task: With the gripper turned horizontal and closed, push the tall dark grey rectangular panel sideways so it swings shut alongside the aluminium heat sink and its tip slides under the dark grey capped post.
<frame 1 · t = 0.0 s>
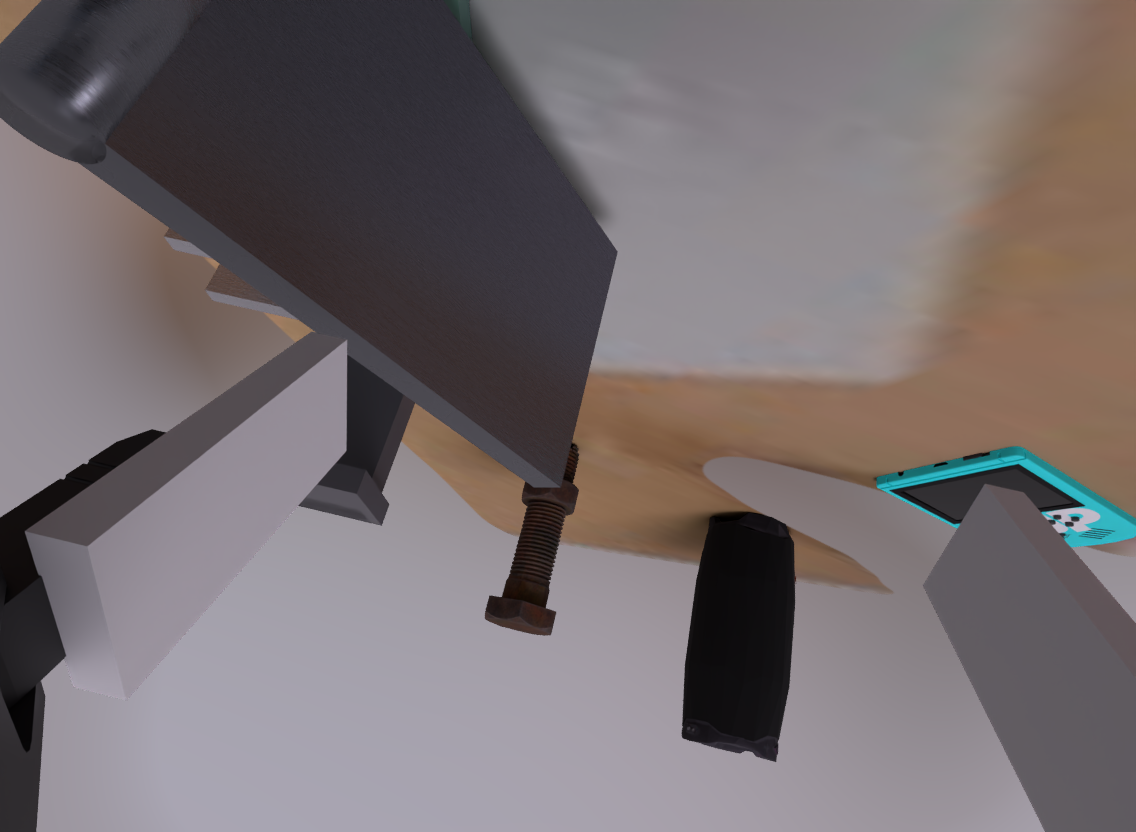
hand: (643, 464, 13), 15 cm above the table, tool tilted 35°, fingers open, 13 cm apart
handheld game console: (1007, 494, 45), on the table
bolt: (562, 443, 54), on the table
heat sink: (258, 78, 25), resting on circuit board
dark grey capped post: (420, 262, 33), resting on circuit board
dark grey rectangular panel: (433, 203, 19), point 7 cm above the table, hinge at 35.0°
portable speaker: (750, 523, 61), on the table
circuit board: (330, 74, 25), on the table
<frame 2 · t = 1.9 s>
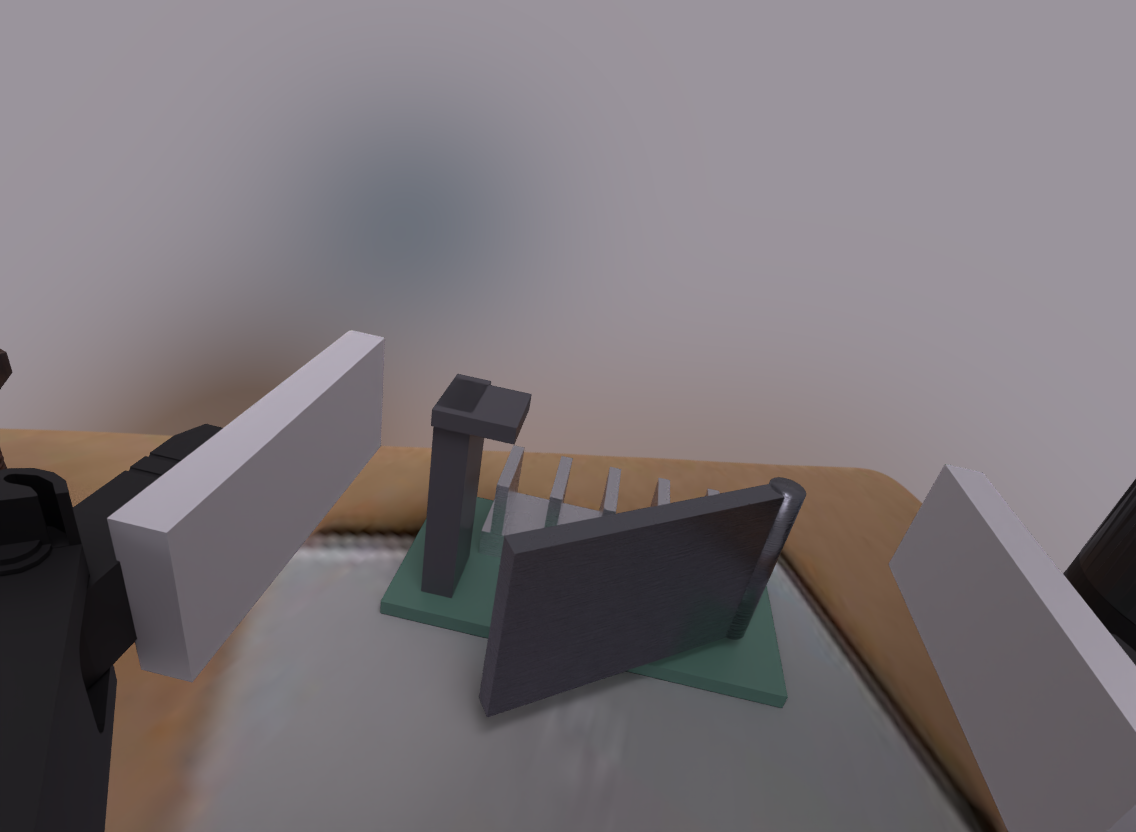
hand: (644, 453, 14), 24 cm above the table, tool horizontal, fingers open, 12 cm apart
bolt: (10, 602, 36), on the table
heat sink: (595, 555, 45), resting on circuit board
dark grey capped post: (446, 573, 41), resting on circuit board
dark grey rectangular panel: (648, 591, 34), point 8 cm above the table, hinge at 35.0°
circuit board: (589, 589, 44), on the table
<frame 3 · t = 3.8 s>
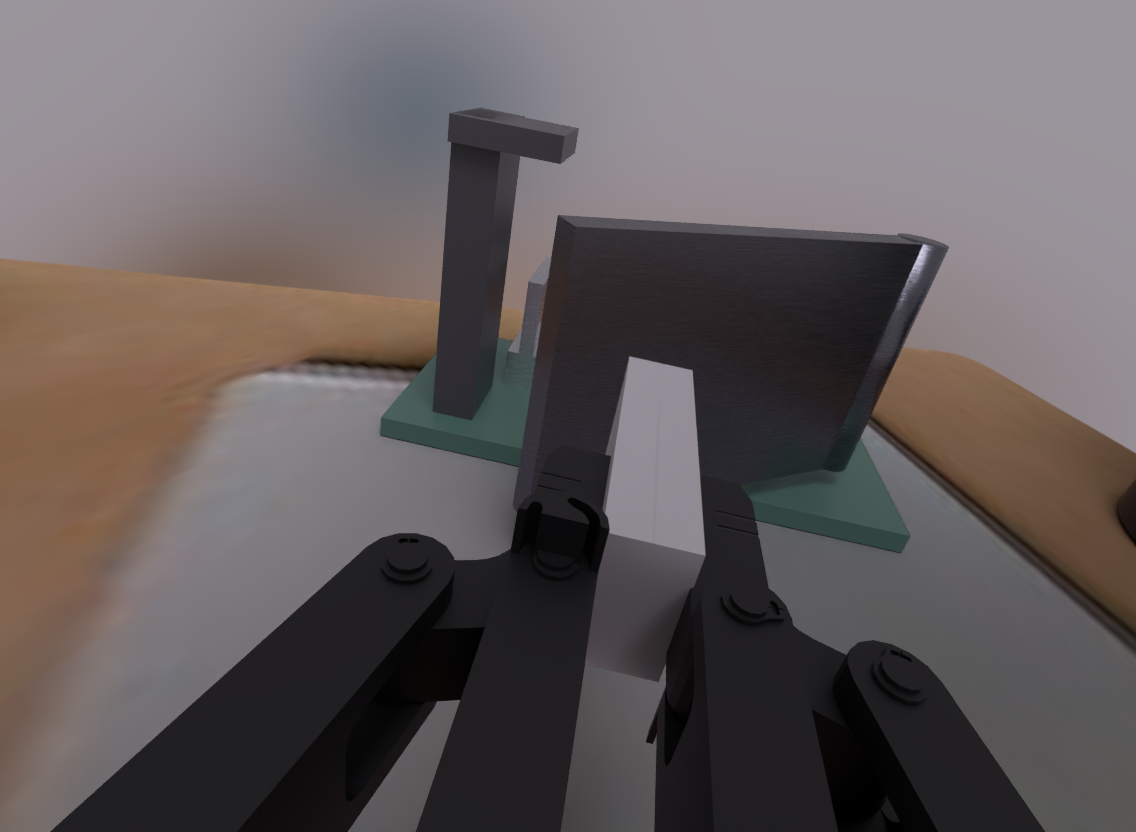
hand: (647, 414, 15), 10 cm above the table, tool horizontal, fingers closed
heat sink: (647, 394, 37), resting on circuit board
dark grey capped post: (463, 398, 33), resting on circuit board
dark grey rectangular panel: (739, 370, 25), point 7 cm above the table, hinge at 35.0°
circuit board: (641, 430, 35), on the table
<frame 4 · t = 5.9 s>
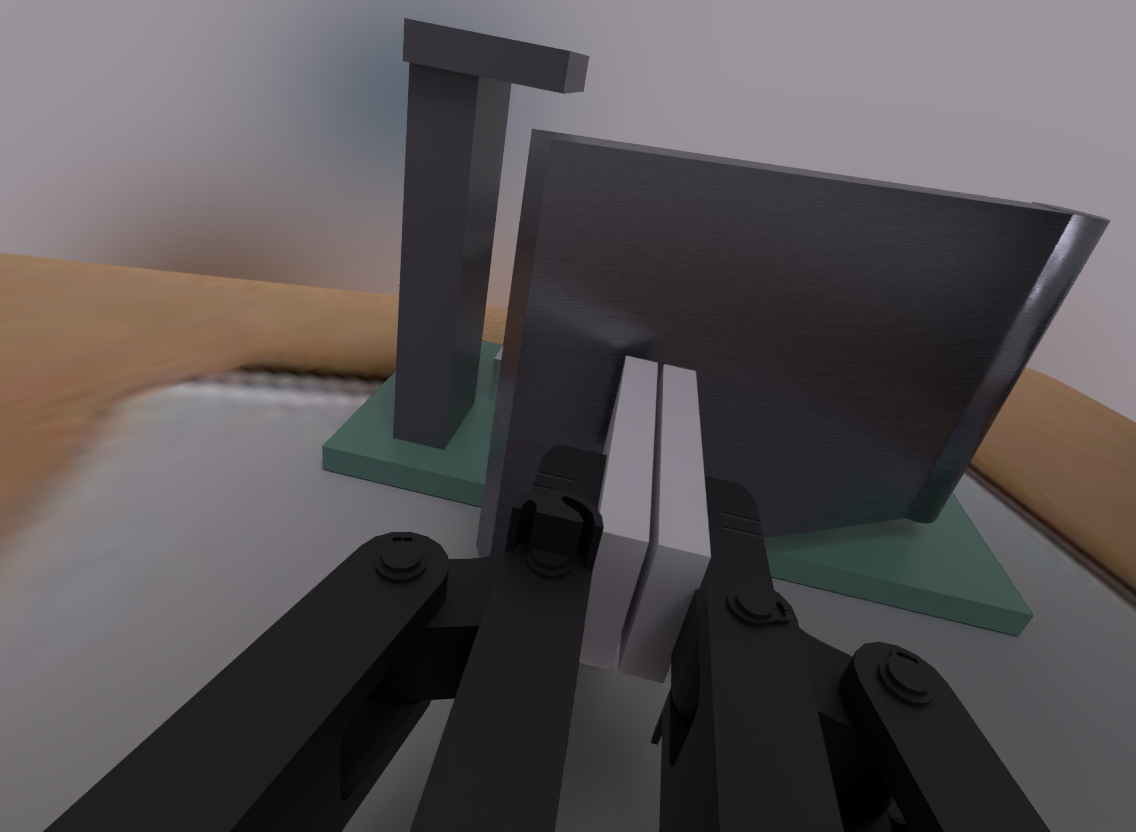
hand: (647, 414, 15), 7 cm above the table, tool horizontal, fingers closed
heat sink: (670, 414, 29), resting on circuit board
dark grey capped post: (436, 419, 25), resting on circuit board
dark grey rectangular panel: (798, 380, 18), point 8 cm above the table, hinge at 29.8°, touching gripper
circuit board: (663, 460, 28), on the table
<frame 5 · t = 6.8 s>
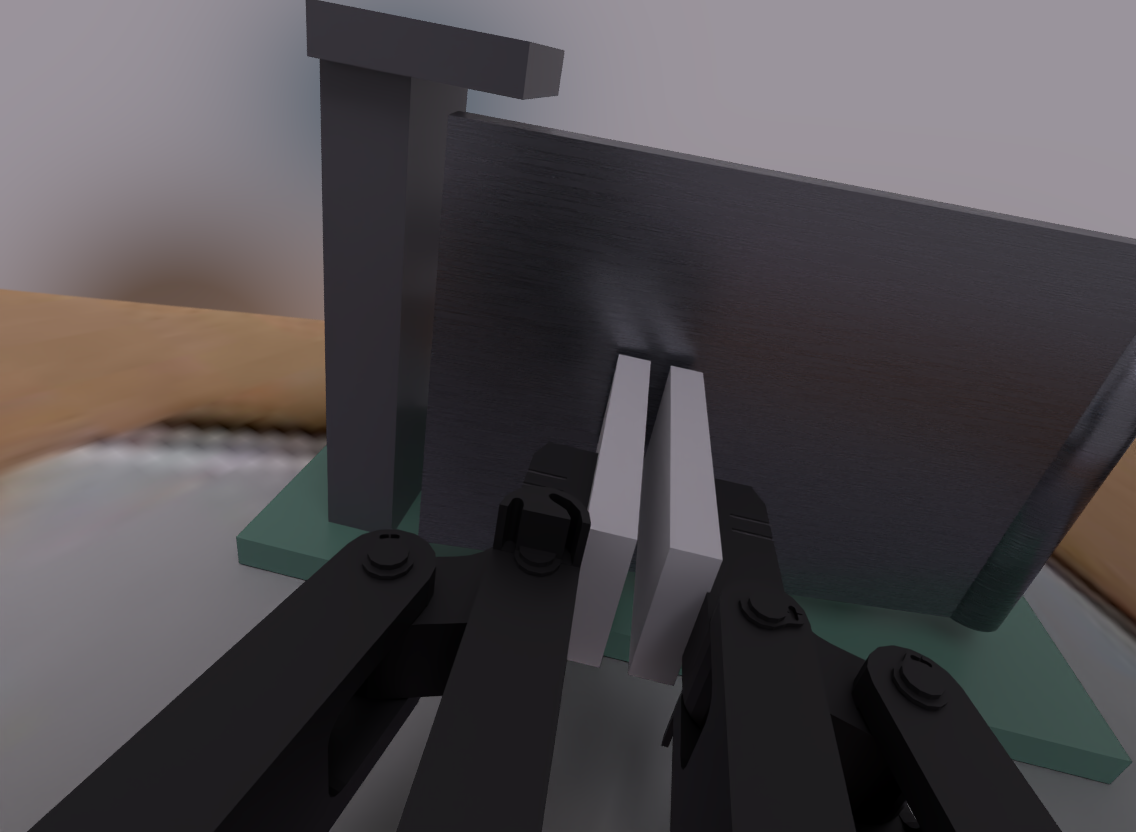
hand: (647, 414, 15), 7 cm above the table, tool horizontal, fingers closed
dark grey capped post: (386, 492, 21), resting on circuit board
dark grey rectangular panel: (778, 411, 16), point 8 cm above the table, hinge at 8.1°, touching gripper
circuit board: (662, 535, 23), on the table
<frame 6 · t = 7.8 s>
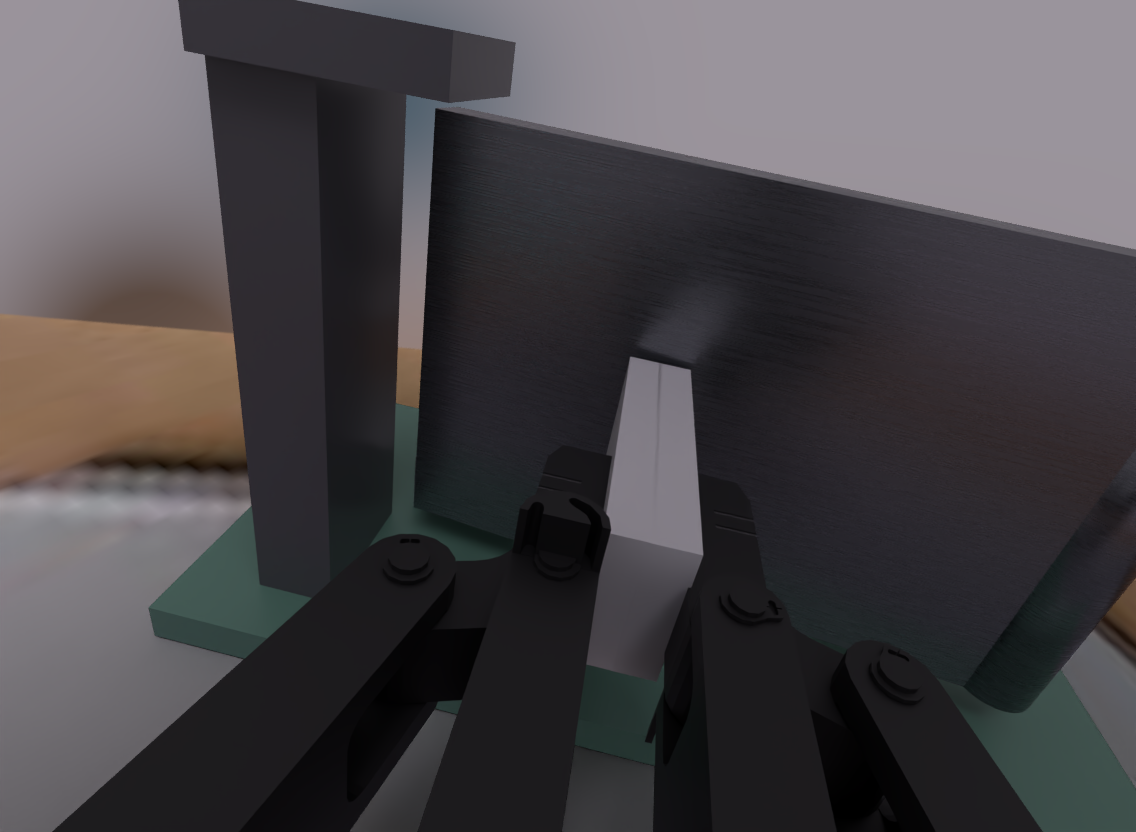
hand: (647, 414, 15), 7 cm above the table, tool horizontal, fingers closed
dark grey capped post: (331, 545, 19), resting on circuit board
dark grey rectangular panel: (761, 423, 16), point 8 cm above the table, hinge at -6.6°, touching gripper, heat sink
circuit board: (646, 587, 21), on the table
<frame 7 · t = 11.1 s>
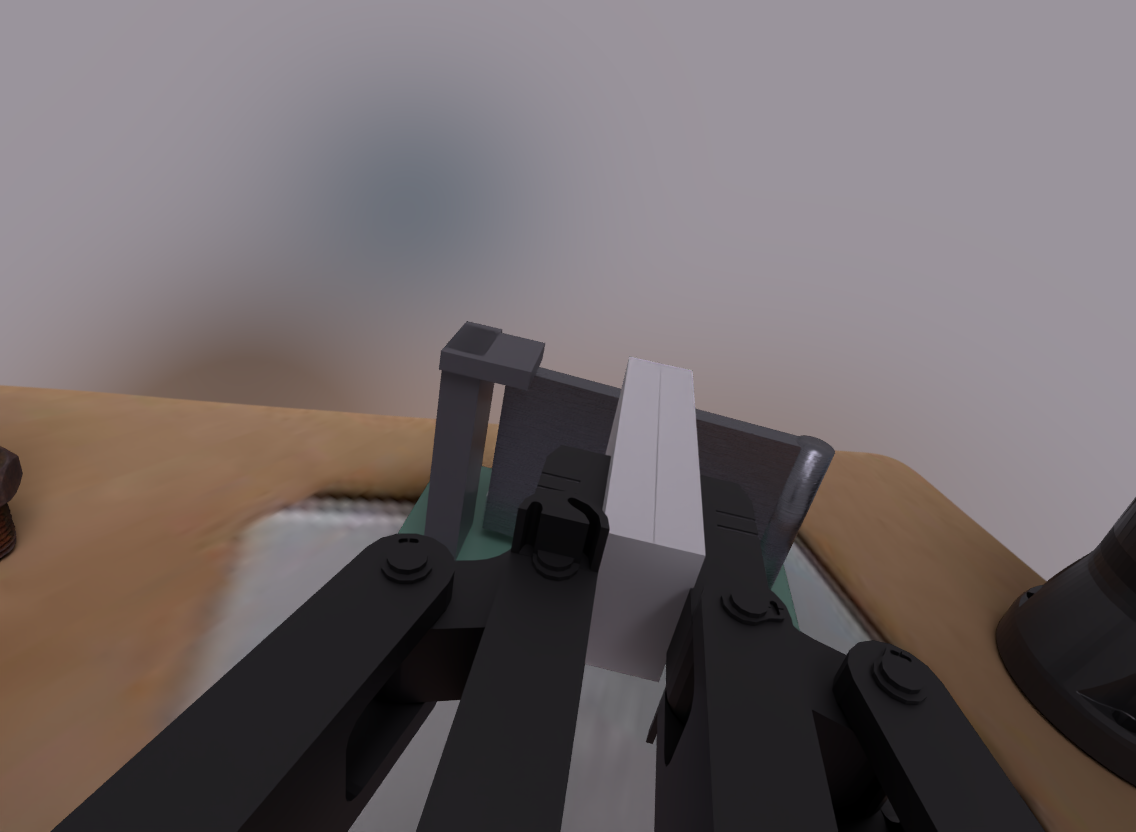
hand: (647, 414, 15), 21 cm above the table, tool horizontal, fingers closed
dark grey capped post: (448, 538, 39), resting on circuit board
dark grey rectangular panel: (643, 490, 36), point 8 cm above the table, hinge at -3.9°
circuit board: (598, 561, 42), on the table
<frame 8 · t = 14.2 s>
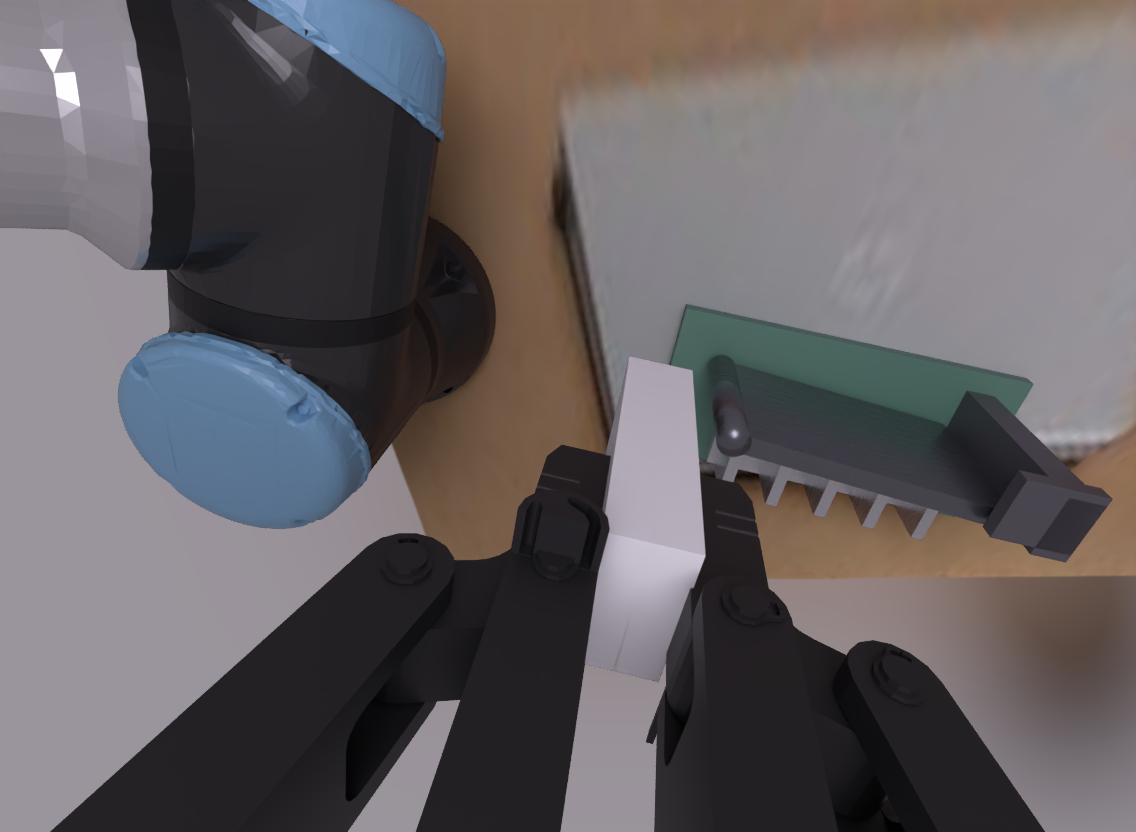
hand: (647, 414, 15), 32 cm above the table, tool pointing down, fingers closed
heat sink: (815, 445, 49), resting on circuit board
dark grey capped post: (967, 417, 47), resting on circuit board
dark grey rectangular panel: (840, 433, 42), point 8 cm above the table, hinge at -3.9°
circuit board: (824, 411, 49), on the table
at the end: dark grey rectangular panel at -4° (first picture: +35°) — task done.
